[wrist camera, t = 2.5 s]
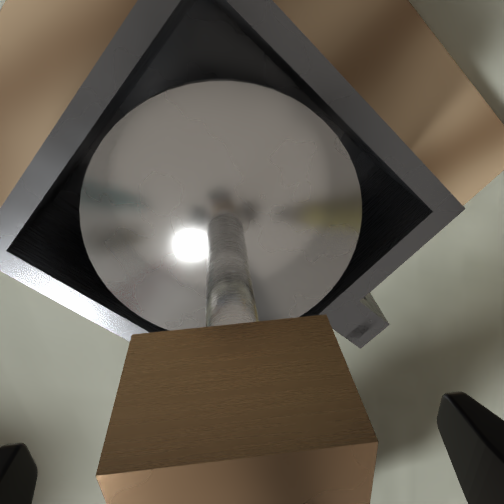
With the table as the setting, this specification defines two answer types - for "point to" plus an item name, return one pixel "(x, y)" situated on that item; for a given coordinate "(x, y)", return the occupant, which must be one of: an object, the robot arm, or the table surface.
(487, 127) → the tan square board
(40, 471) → the table surface
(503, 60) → the table surface
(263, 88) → the plunger
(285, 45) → the shallow square tray
